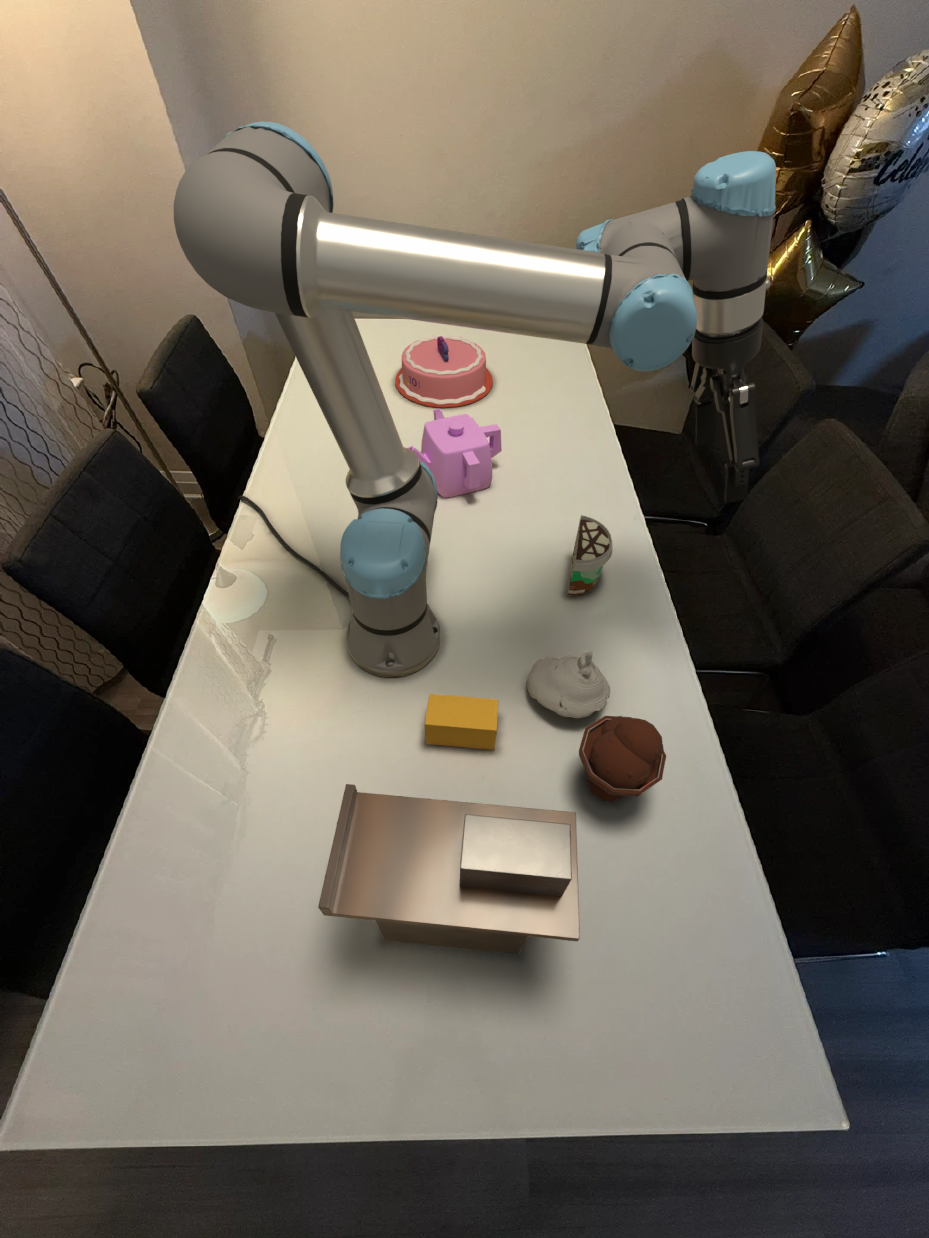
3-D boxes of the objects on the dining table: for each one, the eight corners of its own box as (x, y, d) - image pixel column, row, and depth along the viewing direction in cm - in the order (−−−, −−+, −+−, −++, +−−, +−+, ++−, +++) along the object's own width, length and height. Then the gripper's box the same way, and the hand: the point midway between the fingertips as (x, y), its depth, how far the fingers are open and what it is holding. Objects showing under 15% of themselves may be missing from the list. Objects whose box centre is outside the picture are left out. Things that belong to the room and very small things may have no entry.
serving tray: (347, 946, 68) (309, 896, 50) (367, 842, 76) (340, 767, 58) (554, 968, 67) (592, 925, 49) (553, 861, 75) (585, 789, 57)
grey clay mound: (573, 666, 97) (601, 623, 90) (609, 725, 90) (642, 684, 83) (512, 675, 92) (537, 631, 84) (545, 739, 85) (575, 696, 78)
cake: (385, 364, 154) (381, 323, 145) (475, 352, 159) (476, 311, 150) (408, 415, 139) (405, 372, 130) (506, 399, 144) (509, 357, 135)
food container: (601, 607, 102) (613, 568, 94) (566, 601, 103) (575, 562, 95) (604, 558, 109) (616, 518, 102) (572, 553, 110) (581, 513, 102)
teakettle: (478, 509, 118) (480, 457, 108) (402, 487, 122) (398, 436, 112) (506, 462, 128) (510, 411, 118) (436, 444, 132) (434, 393, 122)
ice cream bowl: (592, 733, 86) (614, 678, 75) (660, 779, 82) (695, 728, 70) (553, 786, 81) (570, 736, 69) (623, 837, 77) (653, 793, 65)
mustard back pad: (426, 744, 85) (424, 724, 80) (430, 714, 88) (429, 693, 83) (494, 750, 84) (496, 730, 80) (496, 719, 88) (498, 699, 83)
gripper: (806, 363, 58) (781, 520, 74) (726, 270, 74) (719, 415, 90) (728, 384, 60) (719, 533, 75) (666, 289, 76) (669, 428, 91)
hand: (719, 469), depth 83 cm, fingers open, 13 cm apart
